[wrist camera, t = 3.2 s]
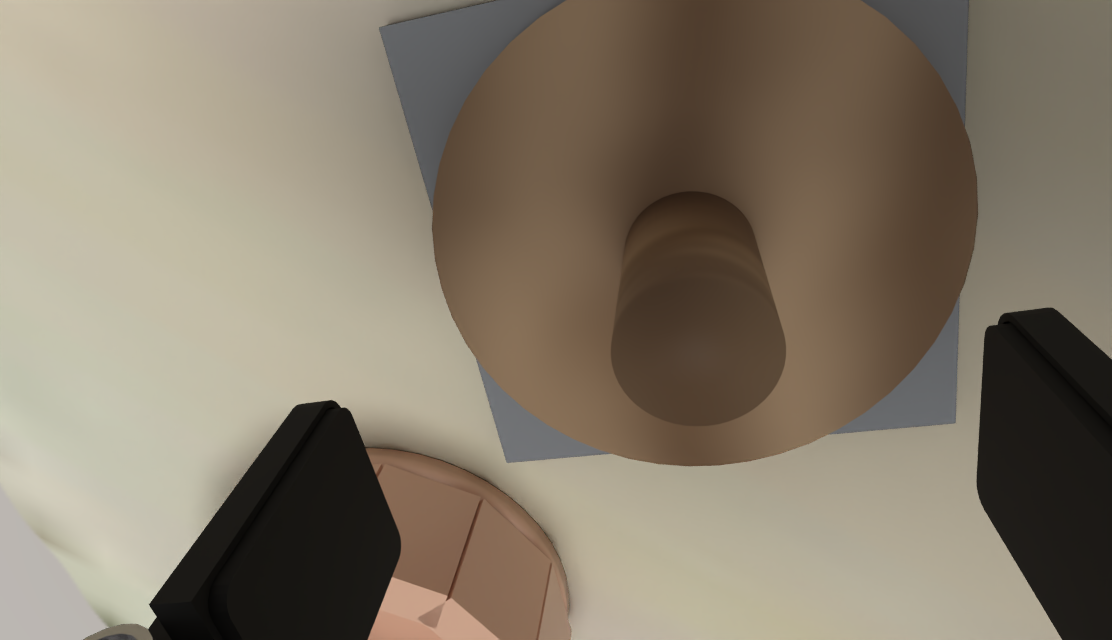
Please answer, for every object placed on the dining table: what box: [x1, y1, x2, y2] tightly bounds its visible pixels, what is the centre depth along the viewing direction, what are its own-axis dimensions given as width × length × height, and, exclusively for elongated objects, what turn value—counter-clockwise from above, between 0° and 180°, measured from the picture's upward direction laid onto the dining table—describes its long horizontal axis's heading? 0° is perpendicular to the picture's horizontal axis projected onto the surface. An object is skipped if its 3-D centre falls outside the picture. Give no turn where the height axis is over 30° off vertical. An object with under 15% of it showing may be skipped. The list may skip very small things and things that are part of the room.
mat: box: [379, 0, 969, 463], centre depth 19 cm, size 13×13×1 cm
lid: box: [432, 0, 978, 466], centre depth 16 cm, size 13×13×6 cm
